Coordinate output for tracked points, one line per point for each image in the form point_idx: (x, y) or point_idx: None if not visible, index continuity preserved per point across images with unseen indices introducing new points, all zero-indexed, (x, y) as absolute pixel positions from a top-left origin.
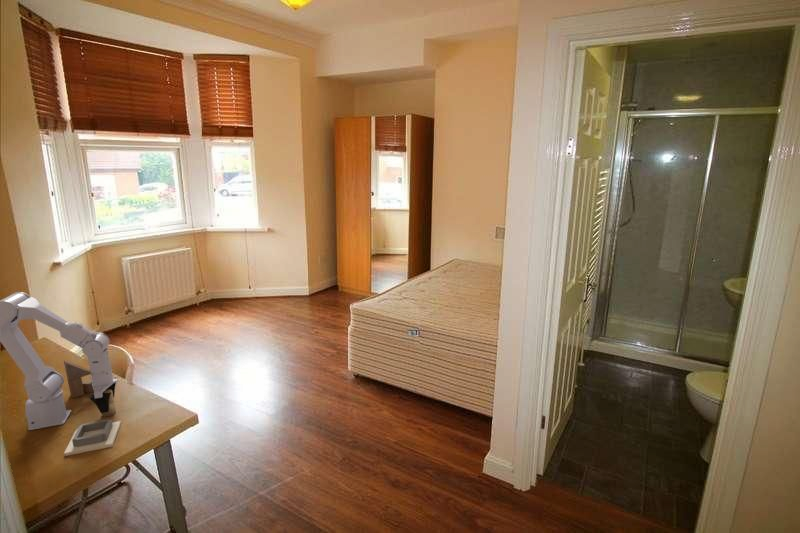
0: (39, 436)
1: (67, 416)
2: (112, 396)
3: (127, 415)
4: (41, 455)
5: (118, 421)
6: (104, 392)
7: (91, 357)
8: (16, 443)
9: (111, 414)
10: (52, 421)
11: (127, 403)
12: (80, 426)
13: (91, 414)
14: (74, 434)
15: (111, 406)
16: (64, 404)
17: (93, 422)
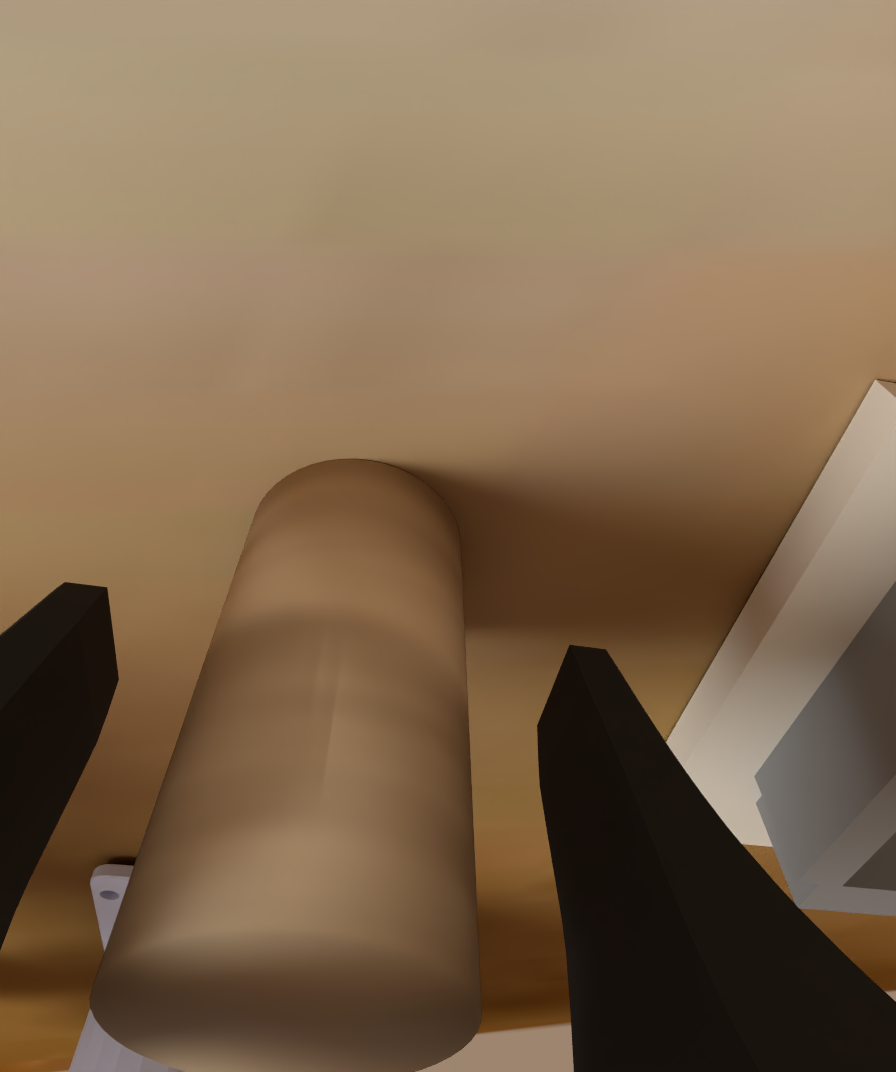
0: (490, 964)
1: None
2: (357, 774)
3: (640, 264)
4: (834, 935)
5: (889, 440)
6: (264, 1026)
7: None
8: (500, 1026)
9: (455, 526)
10: None
11: (78, 259)
12: (843, 901)
13: None
14: (752, 839)
15: (440, 618)
16: (173, 1069)
17: (886, 812)
